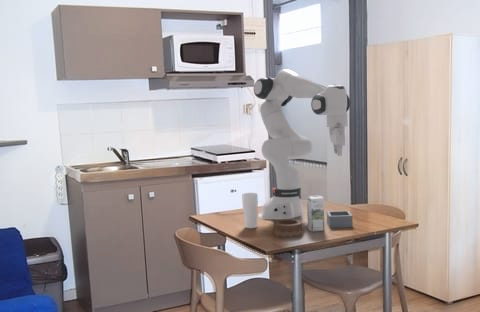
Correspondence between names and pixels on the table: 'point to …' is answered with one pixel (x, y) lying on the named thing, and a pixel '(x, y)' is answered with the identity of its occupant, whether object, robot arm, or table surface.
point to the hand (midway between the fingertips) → (337, 154)
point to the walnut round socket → (288, 228)
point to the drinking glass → (250, 209)
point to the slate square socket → (339, 219)
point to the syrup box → (315, 213)
